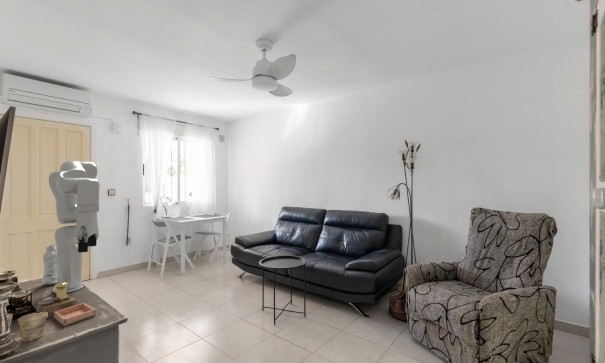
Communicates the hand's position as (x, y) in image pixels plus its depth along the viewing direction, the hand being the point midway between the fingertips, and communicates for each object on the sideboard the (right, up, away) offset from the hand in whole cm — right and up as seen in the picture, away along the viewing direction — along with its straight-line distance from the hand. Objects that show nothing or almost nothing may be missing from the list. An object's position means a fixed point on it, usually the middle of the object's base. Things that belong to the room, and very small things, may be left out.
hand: (87, 249), depth 118 cm
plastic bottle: (-41, -26, +29) cm, 56 cm away
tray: (-1, -26, -5) cm, 27 cm away
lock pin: (-12, -26, +1) cm, 29 cm away
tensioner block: (-13, -26, 0) cm, 29 cm away
